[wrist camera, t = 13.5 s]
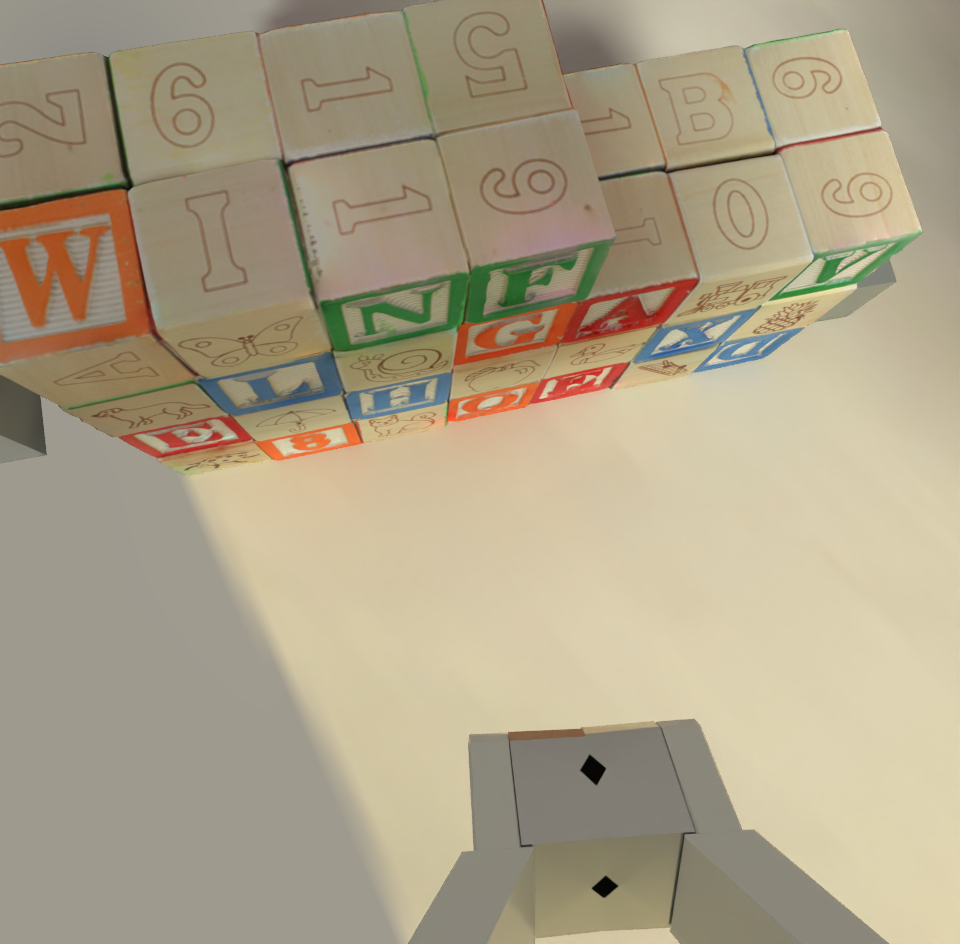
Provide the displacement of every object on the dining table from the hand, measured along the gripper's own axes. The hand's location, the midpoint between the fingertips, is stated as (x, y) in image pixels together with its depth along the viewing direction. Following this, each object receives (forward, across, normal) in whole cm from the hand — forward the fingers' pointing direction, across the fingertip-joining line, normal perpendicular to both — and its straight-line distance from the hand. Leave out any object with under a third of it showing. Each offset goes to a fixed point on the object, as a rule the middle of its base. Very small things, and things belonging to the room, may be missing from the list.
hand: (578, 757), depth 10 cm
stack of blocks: (+20, +1, +1) cm, 20 cm away
